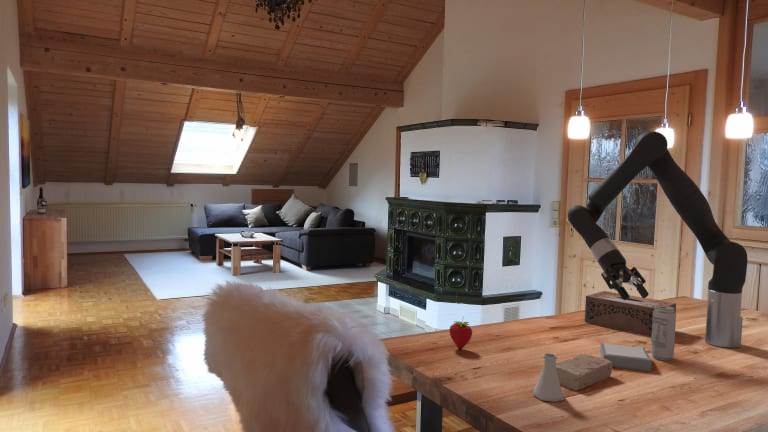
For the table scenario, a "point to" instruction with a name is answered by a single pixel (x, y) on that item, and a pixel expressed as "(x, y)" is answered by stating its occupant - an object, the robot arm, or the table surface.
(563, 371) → the brick
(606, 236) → the robot arm
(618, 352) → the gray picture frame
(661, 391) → the table surface
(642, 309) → the tissue box cover
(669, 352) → the energy drink can
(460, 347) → the strawberry
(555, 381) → the flask
